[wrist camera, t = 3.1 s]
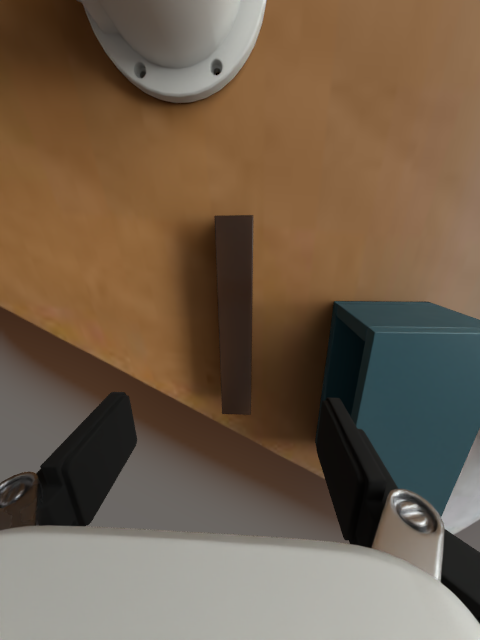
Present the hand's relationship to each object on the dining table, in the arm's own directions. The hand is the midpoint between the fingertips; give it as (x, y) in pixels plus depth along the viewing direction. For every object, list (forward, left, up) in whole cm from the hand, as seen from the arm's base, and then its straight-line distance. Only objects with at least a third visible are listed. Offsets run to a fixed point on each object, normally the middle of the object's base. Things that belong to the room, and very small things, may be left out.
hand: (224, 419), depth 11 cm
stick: (0, 0, -14) cm, 14 cm away
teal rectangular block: (+14, -7, -14) cm, 20 cm away
